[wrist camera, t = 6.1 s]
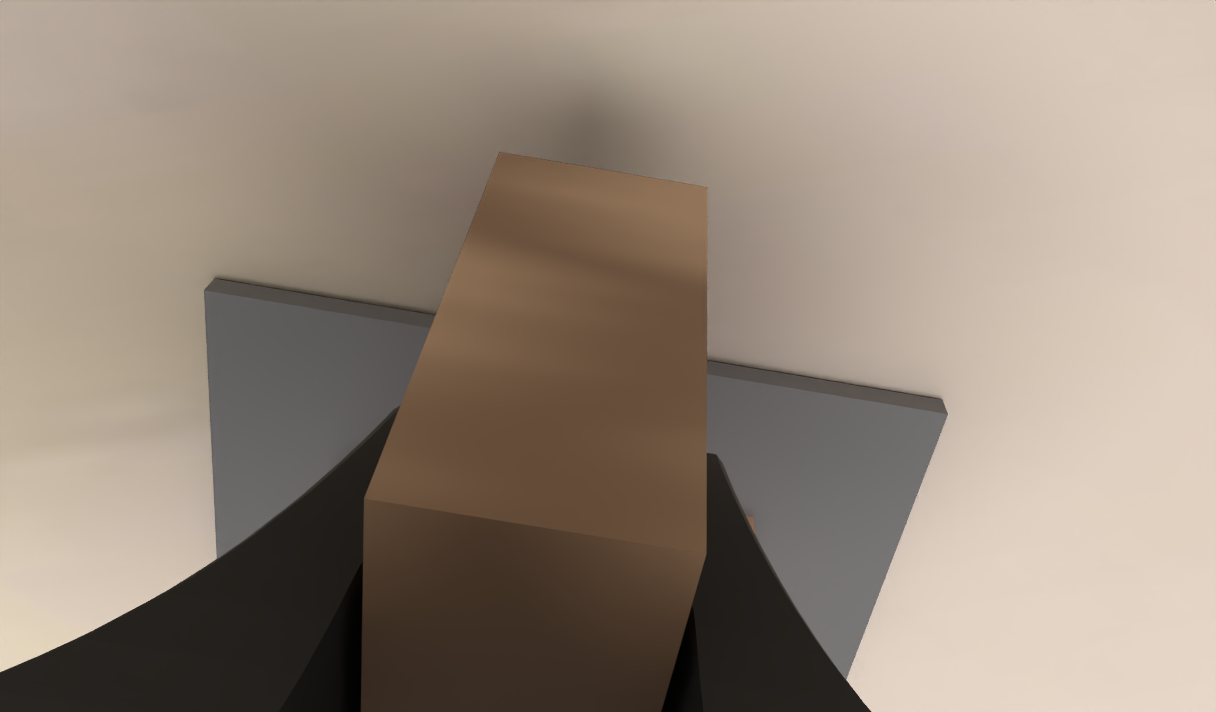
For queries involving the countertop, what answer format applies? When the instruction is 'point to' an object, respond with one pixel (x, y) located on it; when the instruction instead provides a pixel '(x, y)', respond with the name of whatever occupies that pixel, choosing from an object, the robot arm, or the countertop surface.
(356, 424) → the mat
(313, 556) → the robot arm
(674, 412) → the wooden plank piece
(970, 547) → the countertop surface
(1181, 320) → the countertop surface
